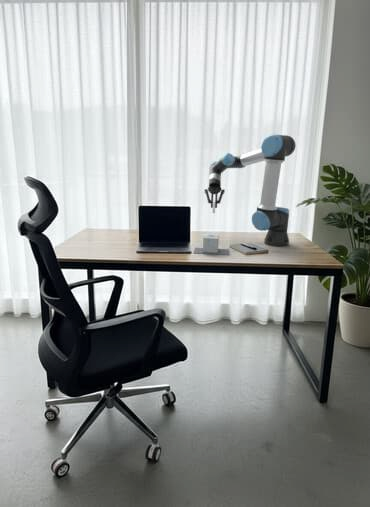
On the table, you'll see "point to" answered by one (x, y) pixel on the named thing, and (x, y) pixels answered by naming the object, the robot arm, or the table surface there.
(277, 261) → the table surface
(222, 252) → the felt pad
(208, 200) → the robot arm
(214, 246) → the ink box
